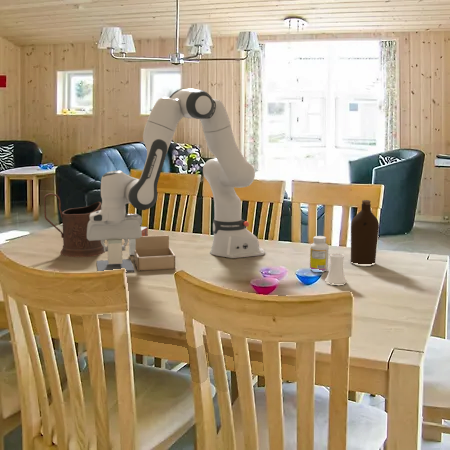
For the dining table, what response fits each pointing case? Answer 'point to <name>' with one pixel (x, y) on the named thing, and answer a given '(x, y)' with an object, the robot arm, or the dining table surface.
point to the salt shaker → (336, 270)
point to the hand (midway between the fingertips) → (114, 250)
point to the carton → (154, 253)
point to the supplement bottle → (319, 254)
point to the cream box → (114, 251)
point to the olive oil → (364, 235)
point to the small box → (133, 241)
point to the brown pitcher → (77, 231)
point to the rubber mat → (115, 265)
